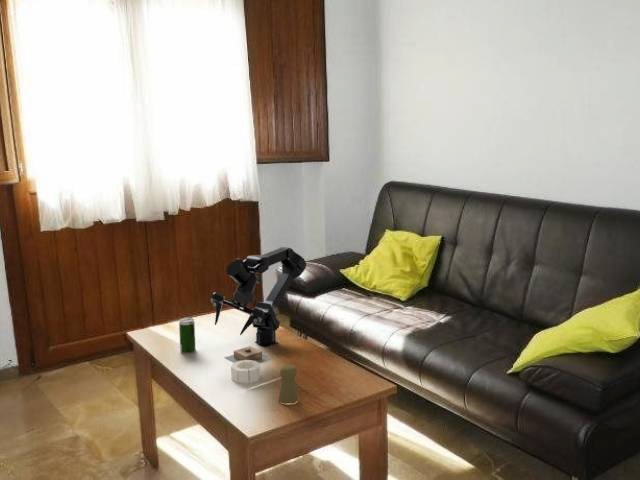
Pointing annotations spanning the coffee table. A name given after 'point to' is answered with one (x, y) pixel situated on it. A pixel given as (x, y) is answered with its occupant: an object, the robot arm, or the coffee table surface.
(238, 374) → the bowl
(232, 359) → the mat
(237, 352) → the lid
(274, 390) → the coffee table surface
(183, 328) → the beer can
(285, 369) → the green shaker
